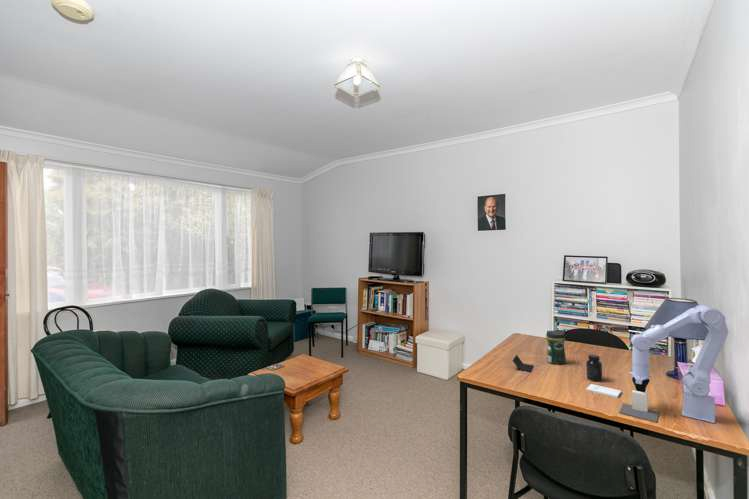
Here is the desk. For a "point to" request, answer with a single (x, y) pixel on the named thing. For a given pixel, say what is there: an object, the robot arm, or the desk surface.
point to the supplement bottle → (594, 368)
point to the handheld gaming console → (522, 365)
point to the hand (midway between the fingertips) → (640, 396)
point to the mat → (639, 413)
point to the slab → (640, 401)
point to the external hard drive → (604, 390)
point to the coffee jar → (556, 347)
